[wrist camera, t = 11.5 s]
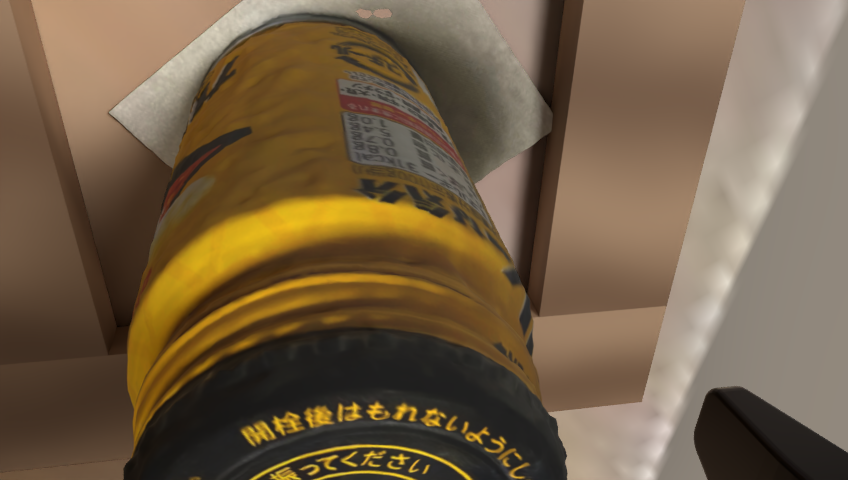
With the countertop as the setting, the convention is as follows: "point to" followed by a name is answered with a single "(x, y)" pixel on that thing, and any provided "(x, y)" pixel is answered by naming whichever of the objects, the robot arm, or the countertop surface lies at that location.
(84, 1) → the countertop surface
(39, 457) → the brown frame
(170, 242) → the condiment
